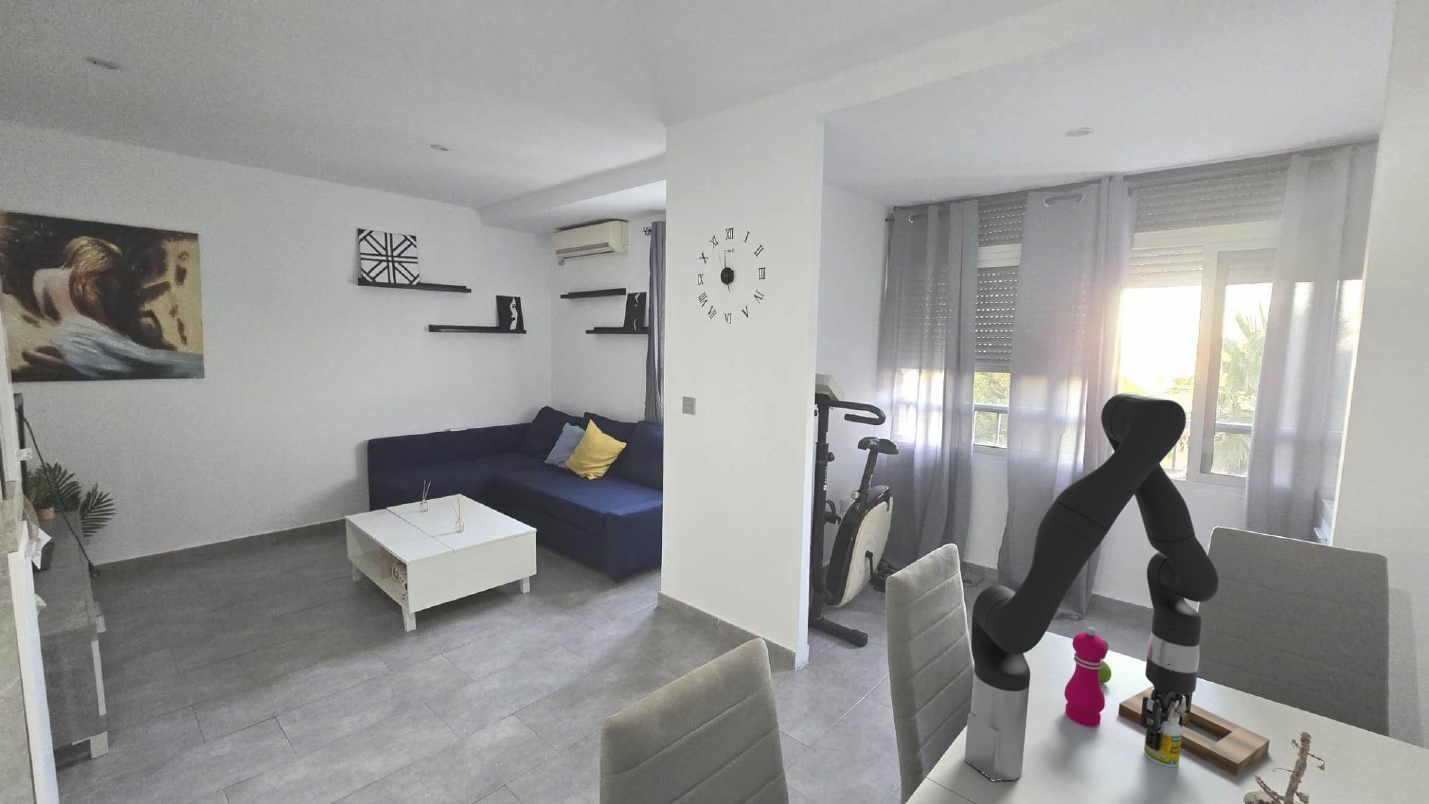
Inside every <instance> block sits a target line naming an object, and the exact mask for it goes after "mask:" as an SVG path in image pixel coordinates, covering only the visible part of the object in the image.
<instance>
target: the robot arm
mask: <svg viewBox="0 0 1429 804" xmlns="http://www.w3.org/2000/svg"><path fill="white" fill-rule="evenodd" d="M1100 419H1101V420H1100V421H1101V426H1102V429H1103V431H1104V434H1105V435H1106V438H1107V440H1108V442H1109V443H1110V445H1111V448H1112V450H1113V451H1114V452H1113V453H1112V454H1111V455H1110V456H1109V457H1108V459H1106V461H1105V462H1103V464H1101V465H1100V466H1099V467H1097V468H1096V469H1094V470H1092V471H1091V472H1089V473H1088V474H1087V475H1085V476H1083V477H1081V478H1079V479H1078V480H1076V481H1075V482H1073V483H1071V484H1070V485H1069V486H1067V487H1066V488H1065V489H1064V490H1063V491H1061V492H1060V494H1059V495H1058V496H1057V497H1056V499H1055V500H1054V501H1053V503H1051V506H1050V507H1049V509H1048V510H1047V511H1046V513H1045V515H1044V516H1043V518H1042V519H1041V521H1040V523H1039V525H1038V528H1037V532H1036V537H1035V544H1034V548H1033V555H1032V556H1033V557H1032V561H1031V562H1032V563H1031V566H1030V569H1029V571H1028V574H1027V575H1026V577H1025V579H1024V580H1023V582H1022V583H1021V585H1020V586H1019V588H1018V589H1017V591H1016V592H1015V591H1014V590H1012V589H1011V588H1009V587H1007V586H1004V585H991V586H988V587H986V588H985V589H983V590H982V591H981V592H980V593H979V594H978V595H977V597H976V598H975V600H974V605H973V607H972V613H971V638H970V639H971V641H970V643H971V645H970V647H971V655H972V658H973V663H974V665H973V667H974V668H973V677H972V680H973V682H972V691H971V692H972V694H971V703H970V712H969V713H968V714H967V723H966V734H965V735H966V736H965V737H966V738H965V749H964V751H965V752H964V761H965V760H967V761H968V762H969V763H970V764H971V765H973V766H974V767H975V768H976V769H975V768H974V767H973V766H972V767H973V768H974V769H975V770H977V769H978V770H980V771H981V772H983V773H984V774H985V775H987V776H988V777H989V778H990V779H992V780H997V779H1001V780H1000V781H1002V780H1012V781H1016V780H1018V779H1019V778H1020V777H1021V776H1022V773H1023V764H1024V755H1025V754H1024V753H1025V752H1024V751H1025V742H1026V729H1027V717H1028V715H1027V714H1028V706H1029V703H1028V702H1029V694H1030V685H1031V684H1030V683H1031V669H1030V666H1029V664H1028V661H1027V659H1026V657H1025V655H1024V653H1028V652H1029V651H1031V650H1032V649H1034V648H1035V647H1036V646H1037V645H1038V644H1039V643H1040V642H1041V640H1042V638H1043V637H1044V635H1045V634H1046V632H1047V630H1048V629H1049V627H1050V624H1051V622H1052V621H1053V619H1054V617H1055V615H1056V613H1057V611H1058V609H1059V607H1060V605H1061V604H1062V602H1063V601H1064V598H1065V596H1066V595H1067V593H1068V591H1069V590H1070V587H1071V586H1073V583H1075V580H1076V578H1077V577H1079V576H1078V575H1080V573H1081V571H1082V569H1083V568H1084V567H1085V564H1087V562H1088V561H1089V559H1090V558H1091V557H1092V555H1093V553H1095V551H1096V550H1097V549H1098V547H1099V546H1100V544H1101V543H1102V541H1103V540H1104V538H1105V537H1106V536H1107V534H1108V533H1109V531H1110V530H1111V528H1112V526H1113V525H1114V523H1115V521H1116V520H1117V518H1118V517H1119V516H1120V514H1121V512H1122V511H1123V510H1124V508H1126V506H1127V504H1128V503H1129V502H1130V501H1131V499H1132V497H1135V500H1136V503H1137V505H1138V509H1139V511H1140V517H1141V519H1142V523H1143V526H1144V529H1145V533H1146V537H1147V540H1148V542H1149V544H1150V545H1151V547H1152V548H1153V549H1155V550H1156V551H1157V552H1156V553H1155V554H1154V555H1152V557H1151V558H1150V560H1149V562H1148V563H1147V564H1148V565H1147V566H1146V580H1147V584H1148V590H1149V591H1148V592H1149V596H1150V601H1151V604H1152V609H1153V615H1152V625H1151V631H1150V632H1151V633H1150V636H1149V639H1148V643H1147V644H1148V646H1147V655H1146V662H1145V663H1146V664H1145V672H1144V673H1145V678H1146V679H1147V680H1148V681H1149V682H1150V683H1151V684H1152V686H1154V689H1153V690H1152V693H1151V695H1150V697H1151V698H1148V697H1146V696H1144V697H1143V701H1142V713H1141V726H1142V728H1143V727H1144V728H1143V729H1145V728H1146V729H1147V735H1146V734H1145V736H1146V745H1147V746H1148V747H1150V748H1152V749H1154V750H1155V751H1159V750H1160V749H1161V743H1162V734H1163V733H1162V732H1163V729H1164V727H1165V724H1166V723H1169V722H1170V720H1171V718H1172V715H1173V712H1177V713H1178V714H1179V716H1180V717H1179V723H1178V724H1179V725H1180V726H1181V728H1182V721H1183V720H1184V719H1185V717H1186V715H1185V713H1186V714H1189V713H1190V709H1191V703H1192V702H1193V701H1192V700H1193V695H1194V694H1193V693H1194V692H1195V691H1196V688H1197V680H1198V671H1199V665H1200V664H1199V662H1200V640H1201V639H1200V638H1201V631H1202V617H1201V614H1200V613H1199V612H1198V611H1196V609H1194V608H1193V607H1192V606H1190V605H1189V604H1188V602H1187V601H1186V600H1188V601H1192V602H1194V603H1195V602H1196V603H1205V602H1207V601H1210V600H1211V599H1212V598H1214V597H1215V596H1216V594H1217V591H1218V589H1219V583H1220V582H1219V576H1218V573H1217V570H1216V567H1215V566H1214V564H1213V562H1212V560H1211V559H1210V557H1209V555H1208V553H1207V552H1206V550H1205V549H1204V547H1203V545H1202V544H1201V542H1200V541H1199V540H1198V538H1197V537H1196V532H1195V529H1194V528H1195V527H1194V524H1193V521H1192V518H1191V517H1192V516H1191V513H1190V510H1189V508H1188V505H1187V503H1186V501H1185V499H1184V497H1183V496H1182V494H1181V492H1180V491H1179V489H1178V488H1177V487H1176V485H1175V484H1174V482H1173V481H1172V480H1171V478H1170V477H1169V475H1168V474H1167V473H1166V471H1165V469H1164V468H1163V467H1162V465H1161V462H1162V461H1164V459H1165V458H1166V457H1167V456H1168V454H1169V453H1170V452H1171V451H1172V450H1173V448H1174V447H1175V446H1176V444H1178V442H1179V440H1180V439H1181V437H1182V435H1183V433H1184V431H1185V429H1186V424H1187V415H1186V411H1185V410H1184V407H1183V406H1182V405H1181V404H1180V403H1178V402H1176V401H1175V400H1172V399H1169V398H1164V397H1160V396H1159V397H1158V396H1153V395H1148V394H1142V393H1134V392H1121V393H1117V394H1115V395H1113V396H1112V397H1110V398H1109V399H1108V400H1107V401H1106V403H1105V404H1104V406H1103V408H1102V409H1101V415H1100ZM1185 599H1186V600H1185ZM1185 702H1186V704H1185ZM1160 712H1162V713H1164V714H1166V715H1165V716H1162V715H1160ZM1159 720H1160V723H1159ZM1152 721H1153V722H1152ZM1141 726H1140V727H1141ZM1146 729H1145V730H1146ZM969 763H968V764H969ZM970 764H969V765H970ZM971 765H970V766H971ZM978 770H977V771H978ZM981 772H980V773H981ZM985 775H984V776H985ZM989 778H988V779H989ZM1017 778H1018V779H1017ZM990 779H989V780H990ZM1015 779H1016V780H1015ZM997 781H998V780H997Z"/></svg>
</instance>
